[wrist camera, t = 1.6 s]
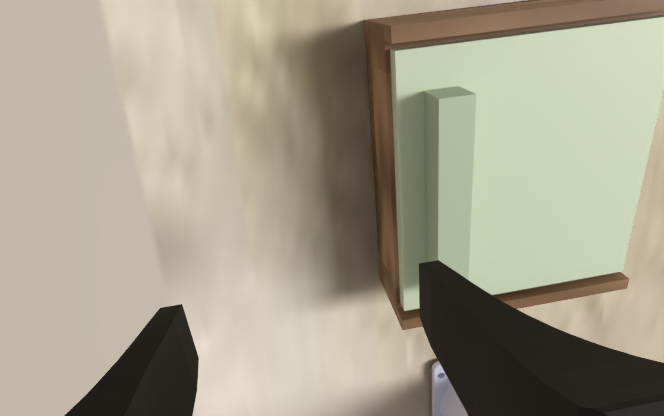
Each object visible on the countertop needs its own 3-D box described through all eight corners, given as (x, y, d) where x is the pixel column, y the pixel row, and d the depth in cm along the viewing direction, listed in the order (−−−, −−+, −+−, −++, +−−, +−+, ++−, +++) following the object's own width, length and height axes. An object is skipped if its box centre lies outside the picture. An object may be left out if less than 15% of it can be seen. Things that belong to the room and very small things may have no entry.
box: (573, 245, 27) (626, 288, 23) (380, 279, 26) (402, 329, 22) (614, -10, 21) (697, -11, 17) (364, 19, 20) (390, 26, 16)
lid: (612, 264, 24) (646, 289, 22) (400, 302, 23) (414, 333, 20) (665, 14, 18) (717, 16, 16) (389, 49, 17) (407, 56, 15)
